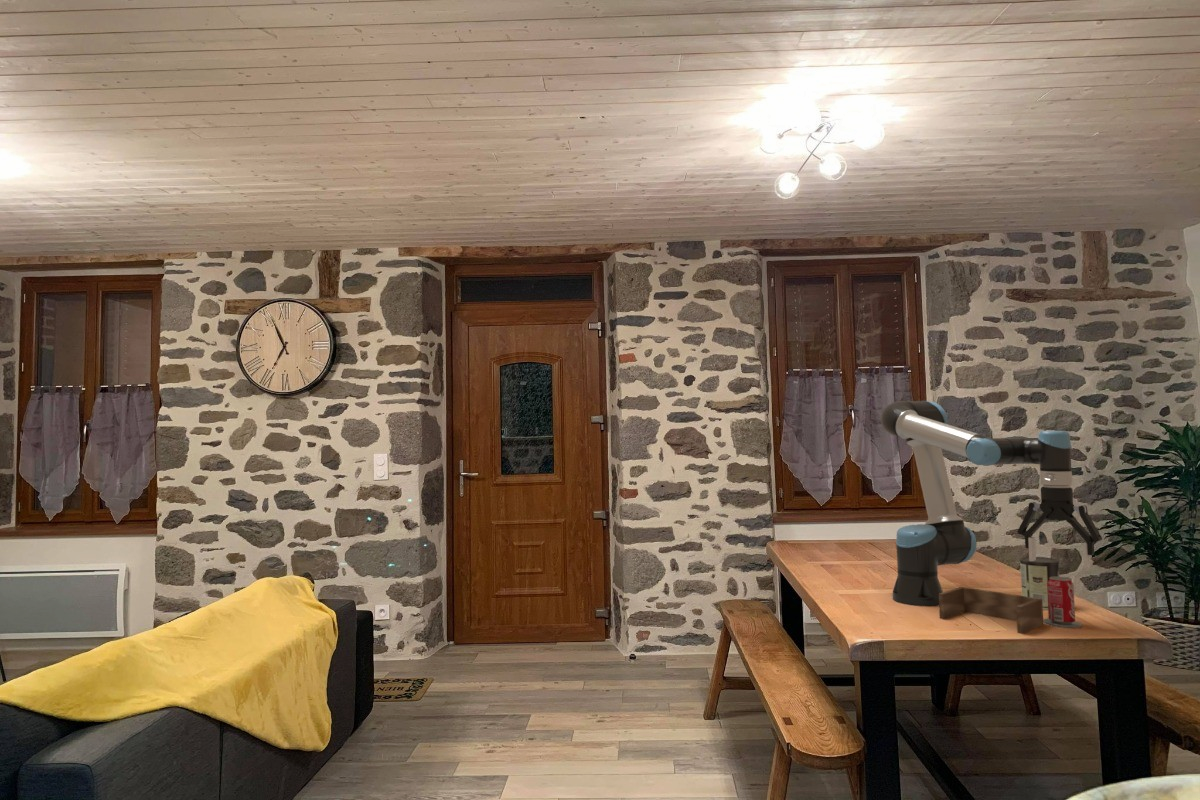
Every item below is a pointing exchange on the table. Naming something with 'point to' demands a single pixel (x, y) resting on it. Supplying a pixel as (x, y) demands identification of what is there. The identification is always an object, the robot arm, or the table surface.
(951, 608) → the walnut u-shaped barrier
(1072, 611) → the beverage can
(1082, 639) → the table surface
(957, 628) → the table surface
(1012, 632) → the table surface
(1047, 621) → the slate coaster
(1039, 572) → the coffee can
